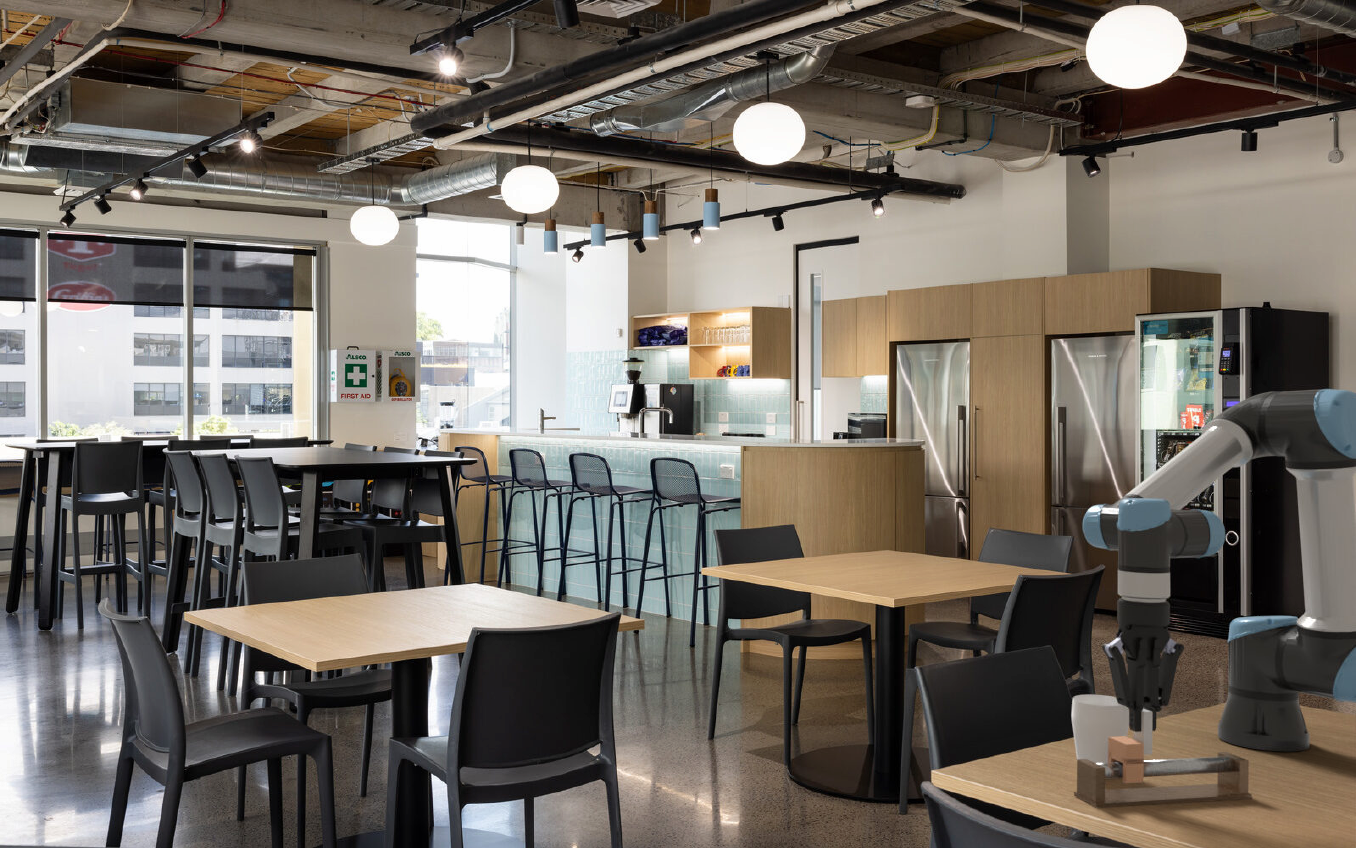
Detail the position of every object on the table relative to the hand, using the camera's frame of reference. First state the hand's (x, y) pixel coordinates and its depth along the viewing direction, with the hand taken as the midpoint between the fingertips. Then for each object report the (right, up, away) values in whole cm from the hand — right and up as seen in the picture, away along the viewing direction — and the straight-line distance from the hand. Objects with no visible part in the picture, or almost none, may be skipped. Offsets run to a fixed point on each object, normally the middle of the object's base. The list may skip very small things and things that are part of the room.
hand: (1142, 752), depth 177 cm
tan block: (-3, -4, -1) cm, 5 cm away
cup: (-2, -8, +13) cm, 15 cm away
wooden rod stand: (+4, -7, +1) cm, 8 cm away
